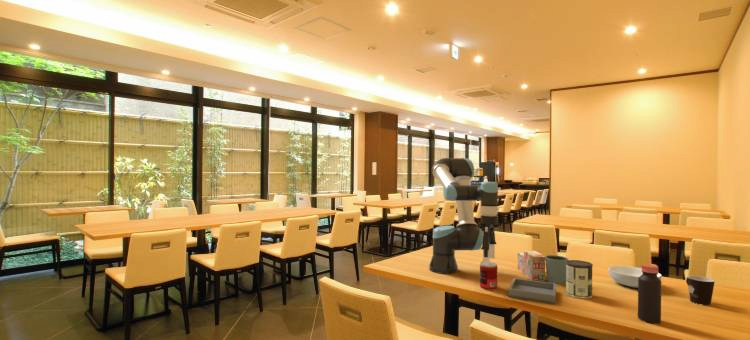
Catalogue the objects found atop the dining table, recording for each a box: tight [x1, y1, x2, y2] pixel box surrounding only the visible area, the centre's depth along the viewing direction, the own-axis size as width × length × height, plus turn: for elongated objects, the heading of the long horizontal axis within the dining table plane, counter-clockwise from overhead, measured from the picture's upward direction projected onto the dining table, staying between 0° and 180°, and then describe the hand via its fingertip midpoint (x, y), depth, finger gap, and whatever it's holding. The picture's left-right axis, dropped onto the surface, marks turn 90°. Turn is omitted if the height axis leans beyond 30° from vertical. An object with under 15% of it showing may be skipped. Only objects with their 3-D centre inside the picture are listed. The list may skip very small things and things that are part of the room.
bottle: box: [637, 263, 662, 324], centre depth 135 cm, size 7×7×20 cm
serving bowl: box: [608, 265, 662, 289], centre depth 176 cm, size 21×21×7 cm
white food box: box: [517, 250, 546, 282], centre depth 193 cm, size 21×6×12 cm, turn 178°
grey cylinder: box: [544, 254, 569, 286], centre depth 181 cm, size 10×10×12 cm
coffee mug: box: [685, 275, 715, 306], centre depth 155 cm, size 12×9×10 cm
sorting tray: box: [508, 277, 557, 305], centre depth 162 cm, size 18×18×4 cm
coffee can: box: [565, 259, 594, 300], centre depth 162 cm, size 10×10×14 cm
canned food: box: [479, 261, 498, 291], centre depth 171 cm, size 8×8×11 cm
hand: (488, 261), depth 171 cm, fingers open, 13 cm apart
